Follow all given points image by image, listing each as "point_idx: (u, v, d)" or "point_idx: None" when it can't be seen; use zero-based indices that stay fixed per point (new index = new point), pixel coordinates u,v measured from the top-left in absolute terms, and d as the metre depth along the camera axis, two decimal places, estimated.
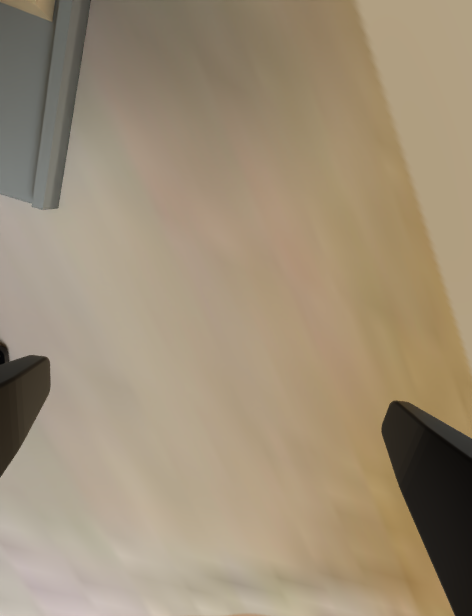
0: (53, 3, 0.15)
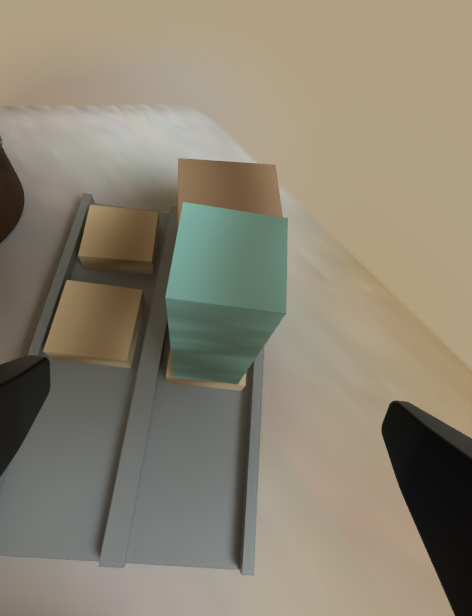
0: None
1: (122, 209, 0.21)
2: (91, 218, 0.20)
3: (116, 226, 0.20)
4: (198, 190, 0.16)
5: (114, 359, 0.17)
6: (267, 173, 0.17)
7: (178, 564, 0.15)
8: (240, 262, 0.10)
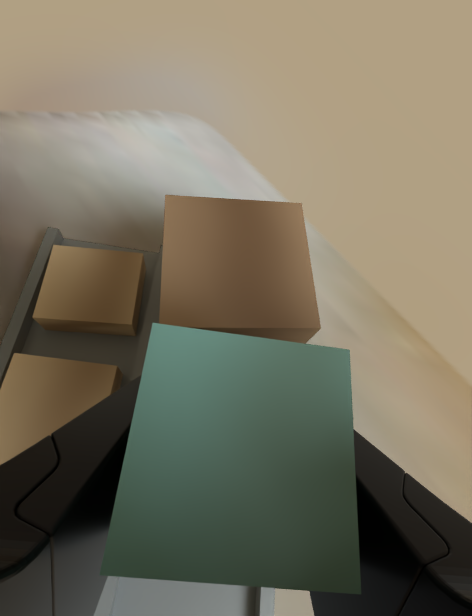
0: None
1: (96, 251, 0.16)
2: (54, 263, 0.15)
3: (86, 274, 0.15)
4: (193, 243, 0.11)
5: None
6: (290, 215, 0.12)
7: None
8: (263, 462, 0.05)
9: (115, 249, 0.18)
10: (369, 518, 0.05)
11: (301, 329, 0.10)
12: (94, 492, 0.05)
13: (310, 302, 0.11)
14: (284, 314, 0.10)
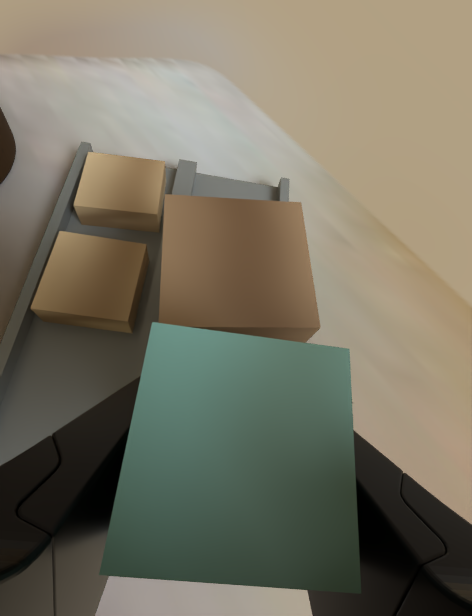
0: None
1: (124, 158, 0.18)
2: (89, 166, 0.18)
3: (117, 175, 0.18)
4: (192, 242, 0.11)
5: (113, 320, 0.15)
6: (290, 214, 0.12)
7: None
8: (263, 461, 0.05)
9: None
10: (367, 518, 0.05)
11: (301, 328, 0.10)
12: (95, 492, 0.05)
13: (310, 301, 0.11)
14: (284, 313, 0.10)
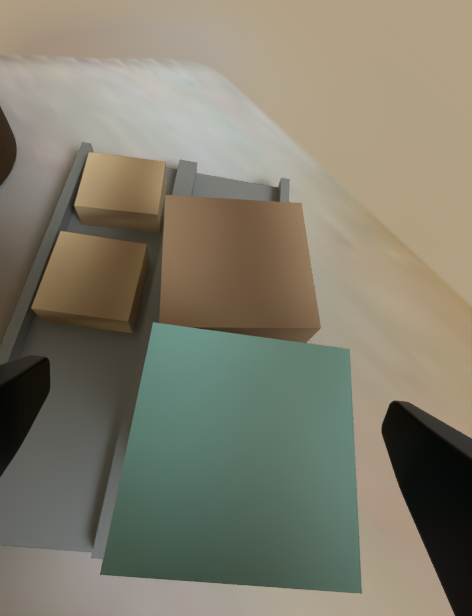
0: None
1: (125, 158, 0.18)
2: (90, 166, 0.18)
3: (118, 175, 0.18)
4: (193, 243, 0.11)
5: (113, 319, 0.15)
6: (290, 215, 0.12)
7: None
8: (264, 461, 0.05)
9: None
10: None
11: (301, 329, 0.10)
12: None
13: (310, 302, 0.11)
14: (285, 314, 0.10)
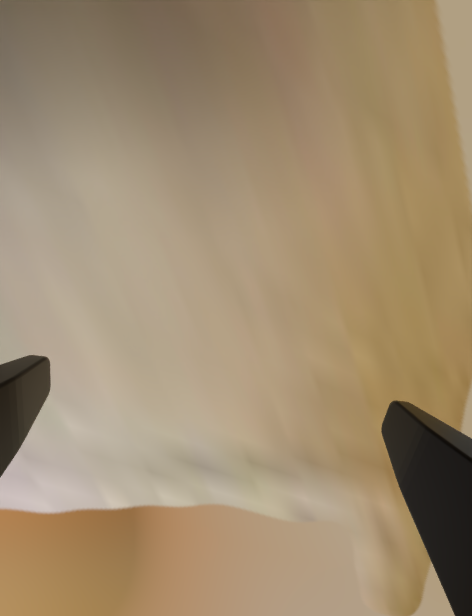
0: None
1: None
2: None
3: None
4: None
5: None
6: None
7: None
8: None
9: None
10: None
11: None
12: None
13: None
14: None
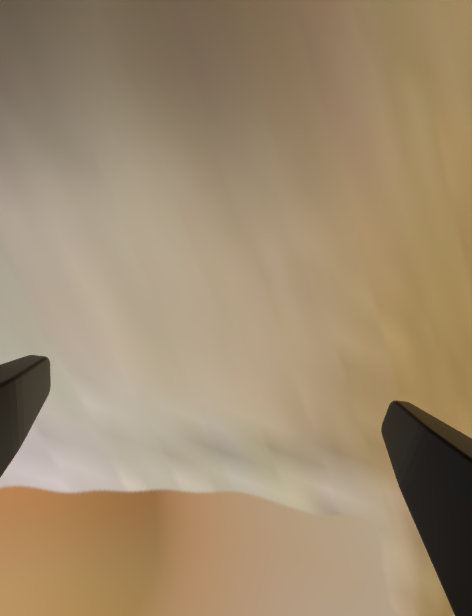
0: None
1: None
2: None
3: None
4: None
5: None
6: None
7: None
8: None
9: None
10: None
11: None
12: None
13: None
14: None
